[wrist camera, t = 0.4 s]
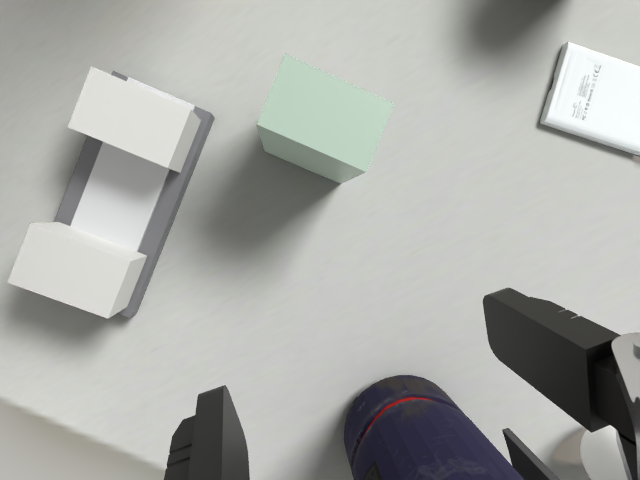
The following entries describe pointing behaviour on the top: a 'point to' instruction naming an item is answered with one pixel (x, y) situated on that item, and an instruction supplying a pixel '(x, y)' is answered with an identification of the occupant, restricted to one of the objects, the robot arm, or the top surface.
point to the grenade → (427, 438)
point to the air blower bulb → (602, 455)
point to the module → (321, 121)
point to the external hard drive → (595, 98)
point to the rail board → (115, 197)
